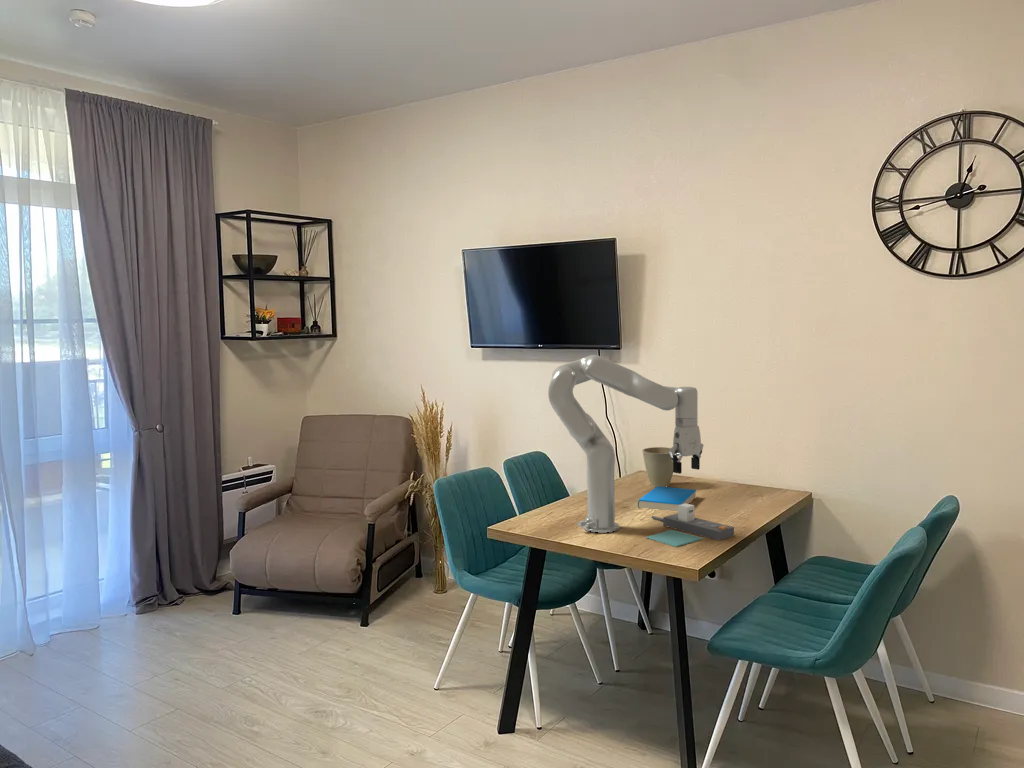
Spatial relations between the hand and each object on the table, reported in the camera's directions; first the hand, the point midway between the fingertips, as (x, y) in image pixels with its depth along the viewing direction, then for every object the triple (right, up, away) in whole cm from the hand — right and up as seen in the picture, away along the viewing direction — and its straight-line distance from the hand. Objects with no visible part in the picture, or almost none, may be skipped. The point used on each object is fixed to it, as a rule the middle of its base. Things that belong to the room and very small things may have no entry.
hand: (686, 470), depth 263 cm
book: (+1, -18, +37) cm, 41 cm away
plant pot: (+4, -14, +66) cm, 68 cm away
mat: (-7, -21, -11) cm, 25 cm away
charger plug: (0, -20, +2) cm, 20 cm away
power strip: (+1, -20, +1) cm, 20 cm away
